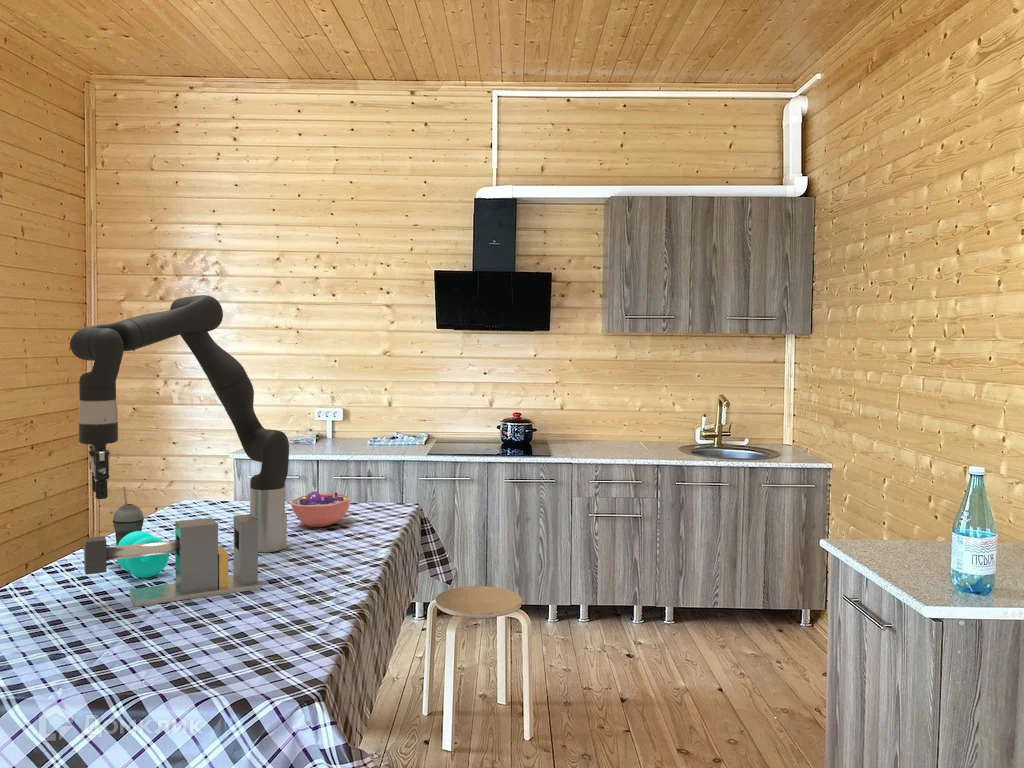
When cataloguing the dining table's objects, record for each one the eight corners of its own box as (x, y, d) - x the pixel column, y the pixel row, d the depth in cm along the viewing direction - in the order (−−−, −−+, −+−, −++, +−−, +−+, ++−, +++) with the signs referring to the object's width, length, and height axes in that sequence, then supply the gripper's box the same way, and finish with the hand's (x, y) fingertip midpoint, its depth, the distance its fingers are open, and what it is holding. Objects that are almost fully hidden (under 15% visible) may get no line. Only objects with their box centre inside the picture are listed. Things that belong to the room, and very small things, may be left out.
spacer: (220, 578, 191) (220, 545, 190) (228, 587, 184) (228, 553, 184) (212, 579, 190) (212, 546, 189) (219, 589, 183) (219, 554, 182)
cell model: (363, 523, 255) (363, 488, 254) (316, 535, 238) (317, 498, 237) (325, 516, 264) (325, 482, 263) (277, 527, 247) (278, 491, 246)
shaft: (207, 555, 187) (207, 525, 187) (211, 559, 184) (211, 529, 183) (84, 569, 174) (84, 538, 173) (85, 574, 170) (85, 542, 170)
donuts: (155, 565, 203) (155, 527, 203) (171, 574, 196) (171, 534, 196) (113, 573, 196) (113, 533, 196) (128, 582, 189) (128, 541, 189)
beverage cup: (131, 569, 200) (131, 490, 198) (106, 567, 201) (105, 488, 200) (150, 561, 207) (150, 485, 206) (125, 559, 208) (125, 483, 207)
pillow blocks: (251, 577, 196) (251, 512, 195) (261, 588, 187) (261, 521, 186) (129, 593, 181) (129, 524, 180) (134, 606, 173) (134, 533, 172)
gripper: (121, 423, 168) (122, 499, 169) (114, 416, 180) (115, 487, 181) (81, 425, 164) (82, 503, 165) (76, 418, 176) (78, 490, 177)
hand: (99, 495), depth 173 cm, fingers open, 8 cm apart
